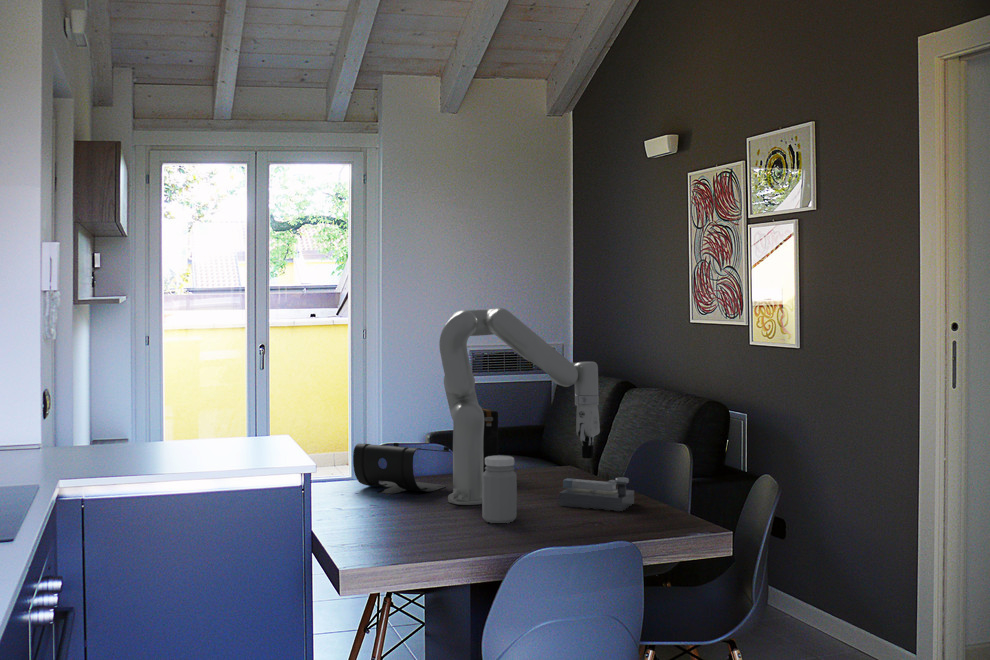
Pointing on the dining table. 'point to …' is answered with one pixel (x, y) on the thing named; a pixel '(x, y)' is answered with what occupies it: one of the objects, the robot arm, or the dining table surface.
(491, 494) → the jar
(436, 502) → the dining table surface
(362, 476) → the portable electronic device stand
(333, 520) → the dining table surface
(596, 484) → the swing arm
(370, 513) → the dining table surface
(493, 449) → the voltmeter
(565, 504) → the chassis
